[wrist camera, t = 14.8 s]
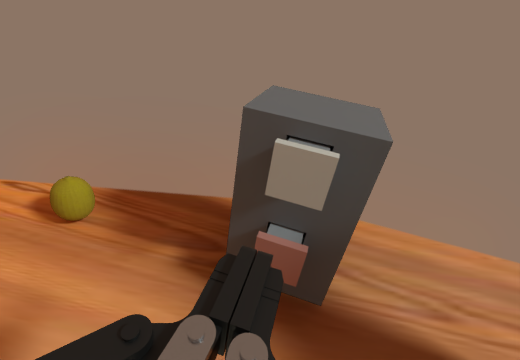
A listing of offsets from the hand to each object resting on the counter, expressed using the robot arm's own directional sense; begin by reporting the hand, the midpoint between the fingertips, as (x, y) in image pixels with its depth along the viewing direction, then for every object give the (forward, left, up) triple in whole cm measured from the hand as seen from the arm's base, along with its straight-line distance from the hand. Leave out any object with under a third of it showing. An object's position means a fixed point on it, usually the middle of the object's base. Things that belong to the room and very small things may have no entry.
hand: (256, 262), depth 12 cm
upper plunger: (+11, -13, -5) cm, 18 cm away
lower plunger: (+11, -13, -16) cm, 23 cm away
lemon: (+35, +8, -22) cm, 42 cm away
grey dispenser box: (+14, -17, -22) cm, 31 cm away
